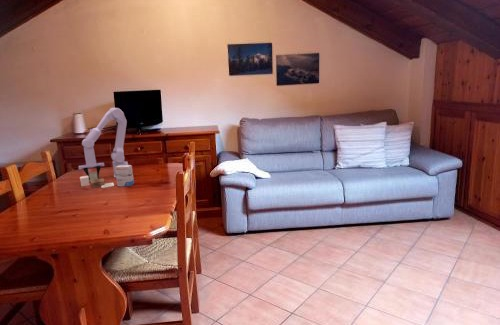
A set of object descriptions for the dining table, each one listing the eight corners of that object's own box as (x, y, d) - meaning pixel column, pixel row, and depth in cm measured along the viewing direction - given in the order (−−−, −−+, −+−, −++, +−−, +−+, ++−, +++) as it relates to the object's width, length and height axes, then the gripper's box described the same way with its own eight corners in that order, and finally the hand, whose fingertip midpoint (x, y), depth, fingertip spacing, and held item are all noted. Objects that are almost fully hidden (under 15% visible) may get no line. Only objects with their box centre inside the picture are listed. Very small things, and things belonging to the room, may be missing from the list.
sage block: (97, 179, 219) (96, 171, 218) (98, 181, 215) (96, 173, 214) (90, 180, 217) (88, 172, 216) (90, 182, 213) (89, 174, 212)
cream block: (89, 183, 211) (88, 175, 210) (89, 185, 207) (88, 177, 206) (81, 184, 210) (80, 176, 208) (81, 186, 206) (80, 178, 204)
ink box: (134, 183, 206) (132, 164, 203) (131, 186, 201) (128, 166, 198) (121, 183, 206) (118, 165, 204) (117, 186, 202) (114, 167, 199)
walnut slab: (104, 183, 210) (103, 178, 209) (104, 185, 204) (104, 181, 203) (91, 185, 207) (91, 180, 207) (92, 188, 201) (91, 183, 200)
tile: (113, 183, 209) (113, 182, 208) (114, 186, 202) (114, 185, 202) (101, 185, 206) (100, 184, 206) (101, 188, 200) (101, 187, 199)
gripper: (102, 154, 219) (105, 175, 222) (77, 158, 213) (81, 179, 217) (103, 156, 213) (106, 177, 216) (77, 160, 207) (81, 181, 210)
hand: (93, 178), depth 216 cm, fingers closed on sage block, 4 cm apart
